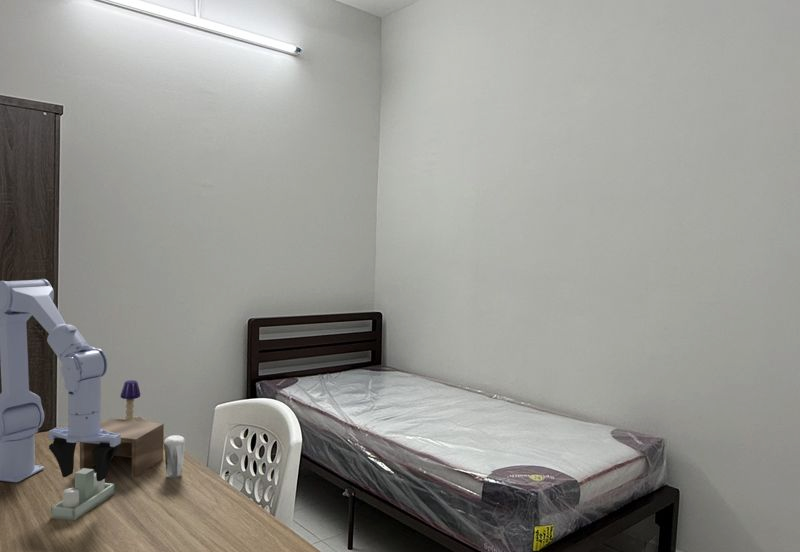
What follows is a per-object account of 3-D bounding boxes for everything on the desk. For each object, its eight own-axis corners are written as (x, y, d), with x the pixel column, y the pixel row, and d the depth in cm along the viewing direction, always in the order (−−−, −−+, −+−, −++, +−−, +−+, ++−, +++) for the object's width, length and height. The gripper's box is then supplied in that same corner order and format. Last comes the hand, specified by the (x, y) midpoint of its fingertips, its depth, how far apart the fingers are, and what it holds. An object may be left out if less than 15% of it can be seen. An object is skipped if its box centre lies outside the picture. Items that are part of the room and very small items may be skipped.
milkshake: (180, 481, 129) (181, 437, 129) (159, 478, 130) (159, 435, 130) (192, 473, 134) (192, 431, 133) (171, 470, 135) (171, 428, 134)
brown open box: (79, 470, 133) (79, 433, 132) (111, 453, 143) (111, 418, 143) (135, 477, 130) (136, 439, 130) (163, 458, 141) (163, 423, 141)
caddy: (51, 517, 111) (50, 482, 111) (93, 490, 123) (93, 458, 123) (74, 520, 111) (74, 485, 110) (114, 493, 122) (115, 461, 122)
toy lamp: (133, 440, 152) (134, 378, 151) (143, 444, 150) (144, 381, 148) (115, 445, 149) (116, 381, 147) (125, 449, 146) (126, 384, 145)
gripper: (36, 413, 113) (37, 481, 114) (104, 420, 110) (104, 489, 111) (63, 403, 120) (63, 467, 121) (127, 409, 117) (127, 474, 118)
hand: (84, 477), depth 116 cm, fingers open, 7 cm apart
